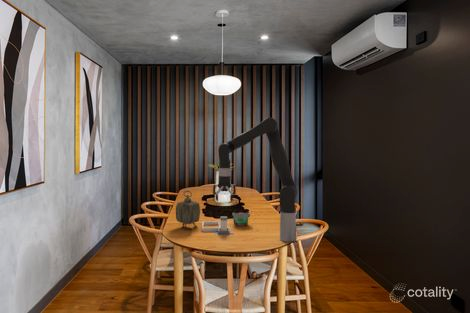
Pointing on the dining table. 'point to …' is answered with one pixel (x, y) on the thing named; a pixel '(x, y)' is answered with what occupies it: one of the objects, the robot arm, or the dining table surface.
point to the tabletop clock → (187, 211)
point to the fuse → (223, 223)
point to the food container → (240, 219)
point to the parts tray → (210, 228)
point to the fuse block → (223, 232)
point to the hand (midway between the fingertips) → (224, 200)
